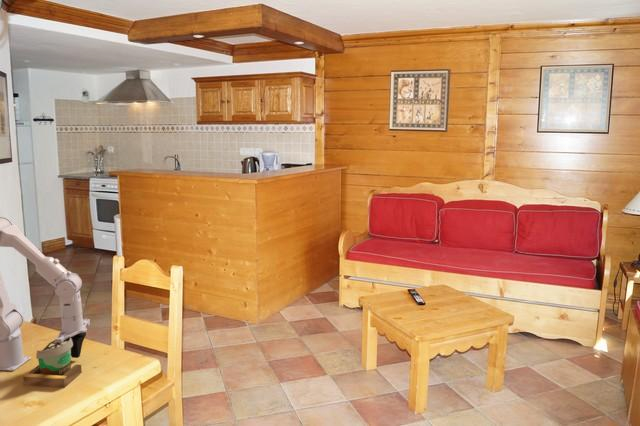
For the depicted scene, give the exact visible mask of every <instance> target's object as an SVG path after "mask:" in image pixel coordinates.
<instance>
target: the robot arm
mask: <svg viewBox="0 0 640 426" xmlns="http://www.w3.org/2000/svg"><path fill="white" fill-rule="evenodd" d="M2 247H3V248H5V247H7V248H13V249H14V250H15V251H16V252H18V253H19V254H21V255H22V256H24V257H25V258H26V259H27V260H28V261H30V262H32V264H34V265H35V271H36V273H37V274H38V275H39V276H41V277H42V278H43V279H44V280H46V281H47V282H48V283H49V284H50V285H51V286H52V287H53V288H54V292H55V295H56V296H57V297H58V298H59V299H58V300H59V309H60V318H61V319H60V321H61V331H60V332H59V333H60V334H58V335H57V336H56V338H54V340H55V342H57V343H62V342H64V340H65V339H67V338H69V336H70V338H71V339H72V342H73V346H72V348H71V359H72V358H74V359H78V358H80V356H81V353H82V348H83V347H82V346H83V342H84V340H85V338H86V335H87V333H86V332H87V331H88V328H87V327H89V326H90V325H91V322H90V321H91V320H90V318H83V309H82V308H83V307H82V298H81V290H80V289H81V288H82V286H83V280H82V278H81V277H80V275H79V274H78V273H75V272H72V271H70V270H68V269H66V268H65V267H64V266H63V265H62V264H61V263H60V260H59V259H58V258H54V257H53V256H46V255H45V254H43V253H42V252H41V251H40V250H39V248H37V247H36V246H35V245H34V244H33V243H32V242H31V240H29V239H28V238H27V237H26V236H25V234H24V233H23V232H22V231H21V230H20V228H19V227H18V226H17V225H16V224H15V223H13V221H11V220H10V219H9V218H7V217H4V216H0V248H2ZM8 294H9V293H7V289H6V286H5V283H4V279H3V275H2V274H1V272H0V371H9V372H10V371H11V372H13V371H16V370H17V369H18V368H19V367H21V366H22V365H24V364H25V363H27V362H28V361H30V360H31V359H32V356H27V355H25V354H24V348H23V347H24V346H23V339H22V331H21V326H23V323H24V315H23V314H22V313H21V312H20V311H19V310H18V308H17V305H16V304H15V303H13V302H11V301H10V298H9V295H8ZM61 333H64V334H61Z"/></svg>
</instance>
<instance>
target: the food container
mask: <svg viewBox="0 0 640 426" xmlns="http://www.w3.org/2000/svg"><path fill="white" fill-rule="evenodd" d="M59 334H60V332H59ZM59 334H58V335H59ZM61 334H64V333H61ZM72 346H73V342H72V339H71V338H70V336H69V338H67V339H65V340H64V342H62V343H57V342H55V339H54V340H53V341H52V340H51V342H49V343H48V344H47V345H46V346H45V347H44V348H43V349H41V350H36V357H35V358H36V359H37V360H38V365H39V366H40V371H41V374H44V375H58V376H63V375H64V374H65V373H66V372H68V371H69V370H70V369H71V368H72V357H71V348H72Z"/></svg>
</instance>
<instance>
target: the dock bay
mask: <svg viewBox="0 0 640 426" xmlns="http://www.w3.org/2000/svg"><path fill="white" fill-rule="evenodd" d="M82 373H83V370H82V364H75V365H73V366H71V369H70V370H69V371H68V372H66V373H65V374H64V375H63V376H58V375H44V374H41V371H40V366H39V364H38V365H37V366H35V367H34V368H33V369H31V370H29V371H28V372H27V373H24V374H23V375H22V378H23V385H25V386H34V387H35V386H36V387H49V388H53V387H54V388H63V389H64V388H66V387H67V386H69V384H71V382H73V381H74V380H75V379H76V378H77V377H78V376H80V374H82Z"/></svg>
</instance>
